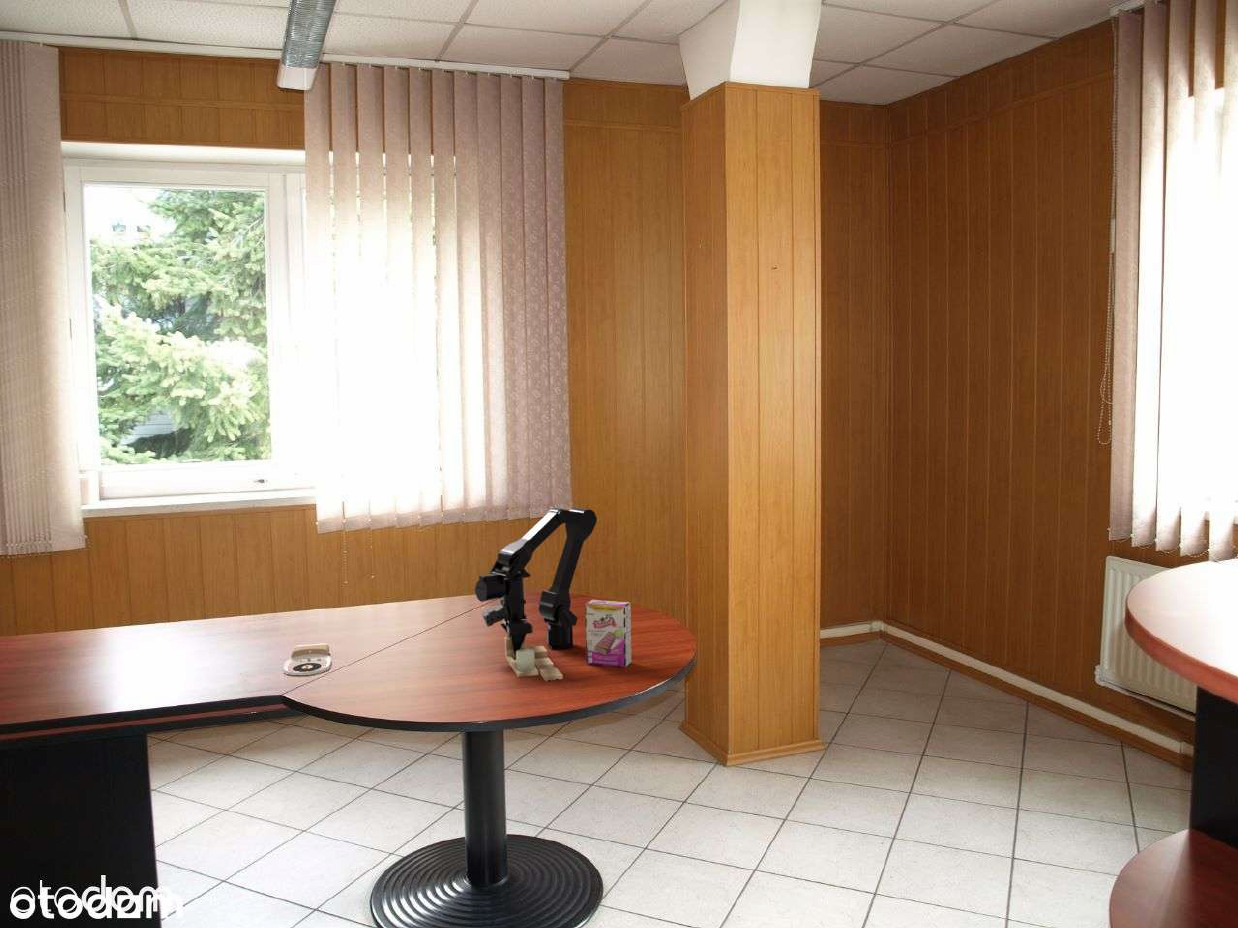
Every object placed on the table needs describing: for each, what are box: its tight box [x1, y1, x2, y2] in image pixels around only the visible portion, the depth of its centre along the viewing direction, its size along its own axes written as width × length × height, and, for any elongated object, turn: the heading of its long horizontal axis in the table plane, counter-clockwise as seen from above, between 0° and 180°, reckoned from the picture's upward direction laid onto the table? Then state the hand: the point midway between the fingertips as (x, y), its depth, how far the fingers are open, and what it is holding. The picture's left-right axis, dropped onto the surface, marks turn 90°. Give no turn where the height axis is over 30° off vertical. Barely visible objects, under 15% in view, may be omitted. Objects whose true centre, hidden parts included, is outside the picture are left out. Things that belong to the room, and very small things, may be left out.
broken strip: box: [526, 645, 564, 682], centre depth 272 cm, size 4×23×2 cm, turn 16°
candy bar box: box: [584, 599, 633, 668], centre depth 273 cm, size 11×5×16 cm, turn 71°
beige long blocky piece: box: [503, 636, 539, 678], centre depth 274 cm, size 5×19×6 cm, turn 16°
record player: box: [283, 643, 332, 676], centre depth 280 cm, size 12×3×20 cm
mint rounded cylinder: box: [515, 648, 535, 671], centre depth 268 cm, size 5×5×4 cm
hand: (515, 652), depth 282 cm, fingers closed on beige long blocky piece, 2 cm apart
